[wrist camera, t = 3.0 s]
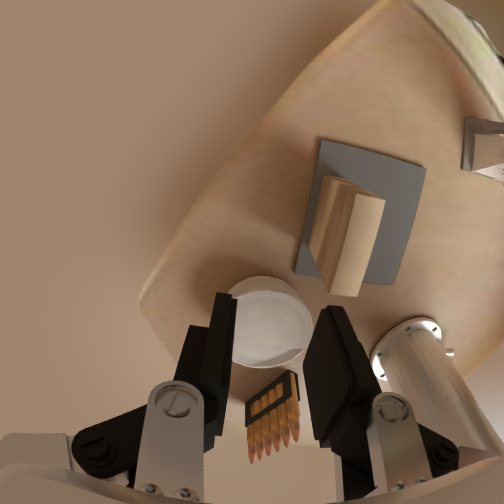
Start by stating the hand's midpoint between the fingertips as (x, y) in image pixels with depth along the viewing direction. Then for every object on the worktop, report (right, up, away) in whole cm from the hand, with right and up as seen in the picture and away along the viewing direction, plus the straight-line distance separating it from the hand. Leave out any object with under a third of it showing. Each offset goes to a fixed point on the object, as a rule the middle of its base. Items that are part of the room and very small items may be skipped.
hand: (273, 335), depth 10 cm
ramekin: (0, -4, +25) cm, 25 cm away
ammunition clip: (+2, -18, +31) cm, 36 cm away
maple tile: (+7, +7, +19) cm, 22 cm away
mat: (+12, +7, +20) cm, 24 cm away
